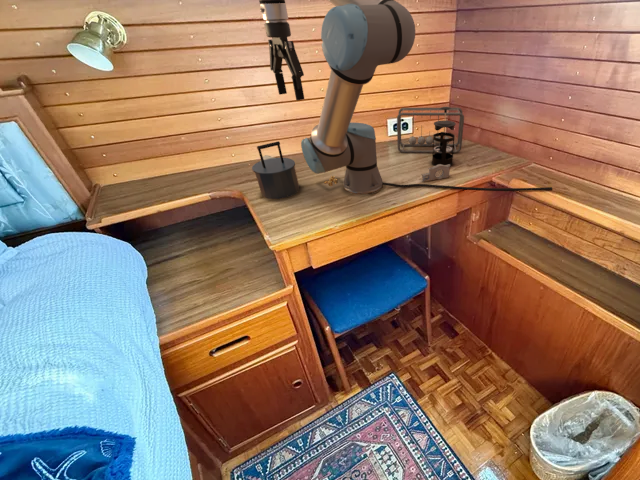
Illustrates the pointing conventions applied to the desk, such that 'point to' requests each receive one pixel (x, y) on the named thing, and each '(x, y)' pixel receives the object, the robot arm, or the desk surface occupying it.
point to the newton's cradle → (429, 139)
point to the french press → (443, 142)
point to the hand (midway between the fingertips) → (291, 96)
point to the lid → (272, 162)
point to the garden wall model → (433, 170)
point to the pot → (278, 184)
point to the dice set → (331, 181)
